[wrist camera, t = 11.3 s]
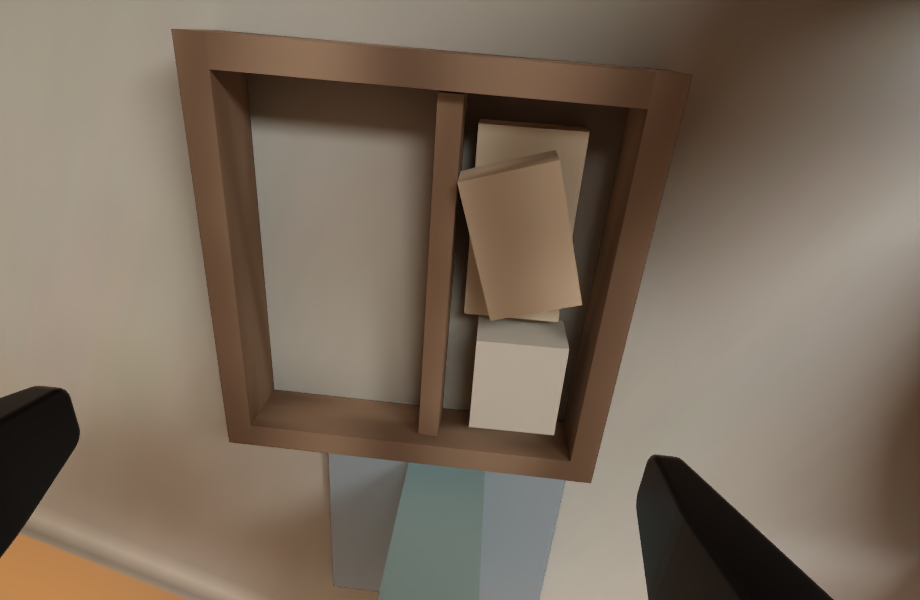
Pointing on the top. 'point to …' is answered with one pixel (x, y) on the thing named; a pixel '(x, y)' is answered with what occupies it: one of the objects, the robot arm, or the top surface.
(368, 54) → the tray
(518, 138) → the offcut
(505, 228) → the offcut
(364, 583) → the mat
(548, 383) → the offcut
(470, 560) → the tall sage green box
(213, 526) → the top surface
